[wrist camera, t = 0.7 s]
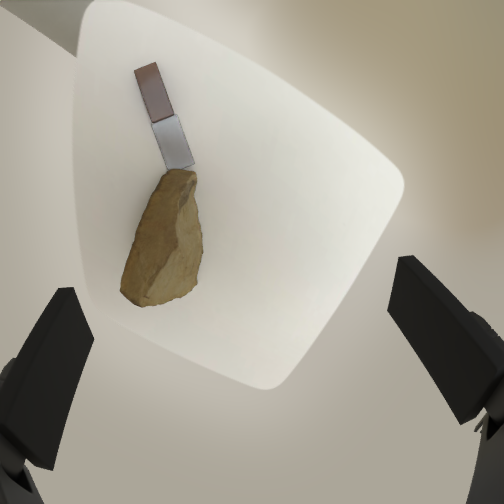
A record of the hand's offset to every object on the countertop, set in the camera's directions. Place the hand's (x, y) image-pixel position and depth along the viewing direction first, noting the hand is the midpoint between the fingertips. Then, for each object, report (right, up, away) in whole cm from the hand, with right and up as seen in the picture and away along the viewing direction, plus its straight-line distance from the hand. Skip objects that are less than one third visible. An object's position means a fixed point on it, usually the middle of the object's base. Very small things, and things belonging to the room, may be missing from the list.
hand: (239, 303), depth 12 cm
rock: (-6, +4, +17) cm, 18 cm away
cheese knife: (-7, +14, +13) cm, 20 cm away
